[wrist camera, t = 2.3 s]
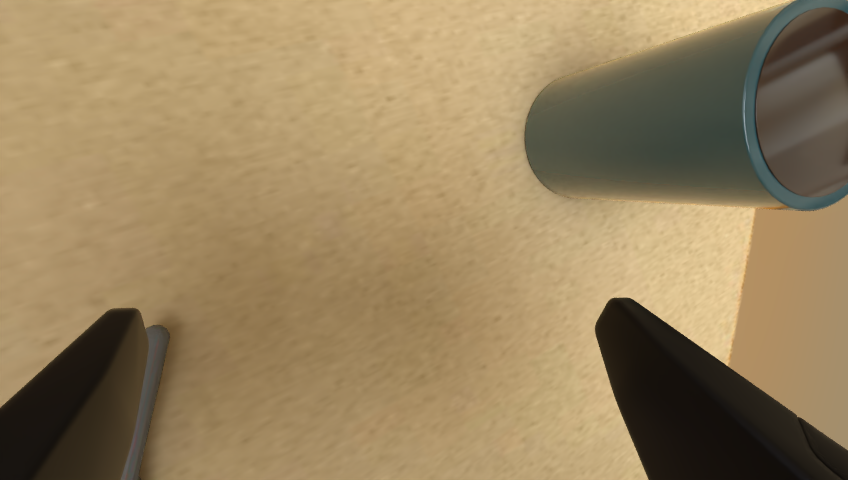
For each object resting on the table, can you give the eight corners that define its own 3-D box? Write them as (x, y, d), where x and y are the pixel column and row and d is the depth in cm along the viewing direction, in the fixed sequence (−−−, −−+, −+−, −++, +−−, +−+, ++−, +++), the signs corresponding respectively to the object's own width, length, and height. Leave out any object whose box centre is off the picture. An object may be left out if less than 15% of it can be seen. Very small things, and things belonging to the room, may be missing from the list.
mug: (553, 220, 27) (780, 249, 16) (505, 108, 26) (718, 47, 14) (674, 141, 30) (952, 116, 18) (637, 33, 28) (918, -74, 16)
